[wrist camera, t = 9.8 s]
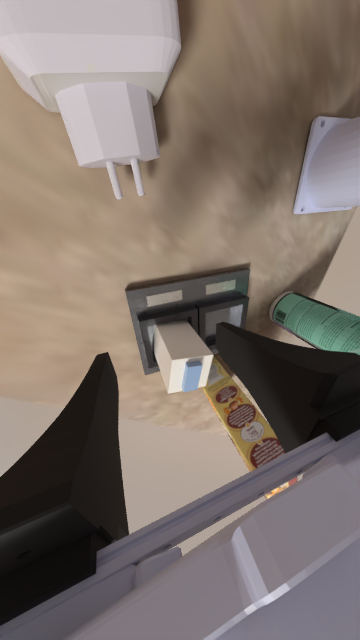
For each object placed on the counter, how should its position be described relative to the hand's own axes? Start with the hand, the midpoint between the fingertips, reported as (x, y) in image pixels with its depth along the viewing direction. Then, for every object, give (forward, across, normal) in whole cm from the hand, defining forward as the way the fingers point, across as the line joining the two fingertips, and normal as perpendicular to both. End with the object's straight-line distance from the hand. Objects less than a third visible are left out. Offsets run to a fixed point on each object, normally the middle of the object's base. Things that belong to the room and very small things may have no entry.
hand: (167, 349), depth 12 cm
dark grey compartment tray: (+10, -6, +5) cm, 12 cm away
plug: (+9, -2, +5) cm, 11 cm away
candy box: (+10, -8, +16) cm, 21 cm away
